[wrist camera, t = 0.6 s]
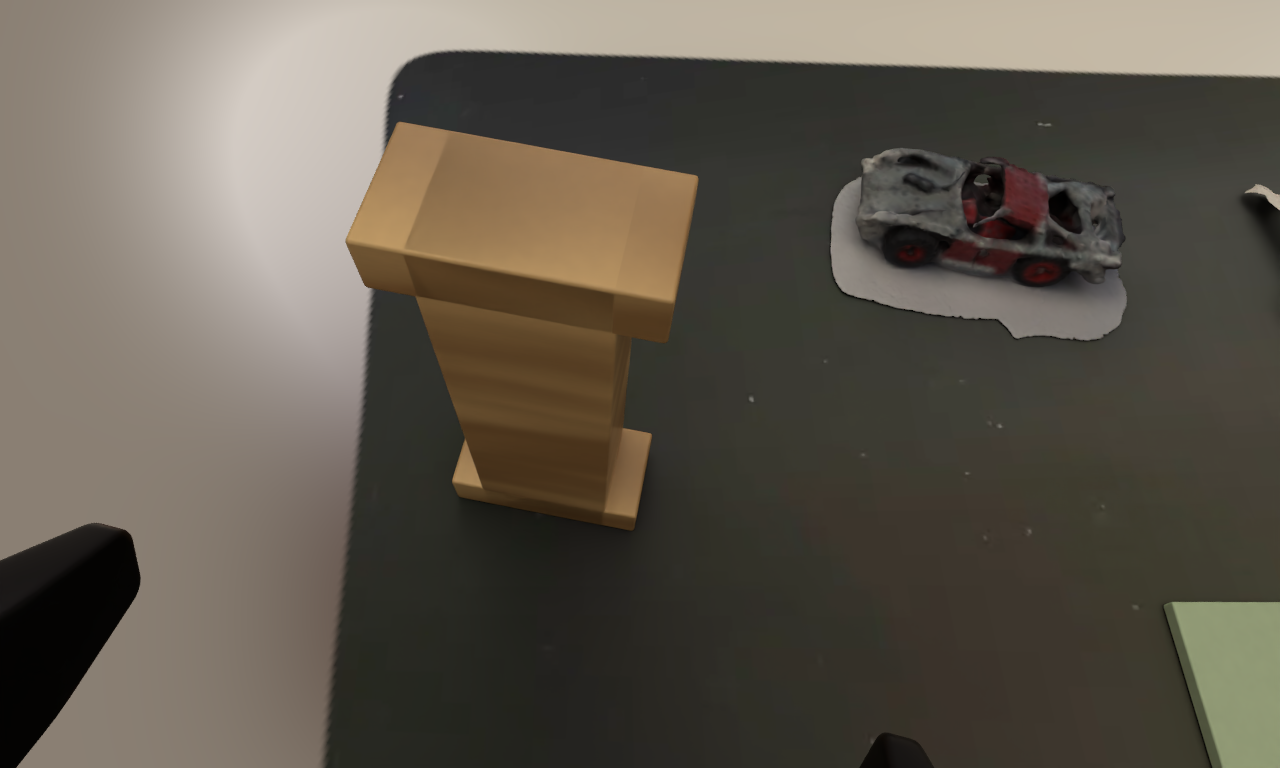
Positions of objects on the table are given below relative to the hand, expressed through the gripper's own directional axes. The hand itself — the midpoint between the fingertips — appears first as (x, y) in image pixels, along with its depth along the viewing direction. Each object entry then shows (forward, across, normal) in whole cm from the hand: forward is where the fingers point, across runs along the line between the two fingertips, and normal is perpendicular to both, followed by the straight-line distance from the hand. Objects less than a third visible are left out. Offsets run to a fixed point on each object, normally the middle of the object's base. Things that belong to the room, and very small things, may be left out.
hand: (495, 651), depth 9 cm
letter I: (+15, +2, +10) cm, 18 cm away
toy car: (+26, -12, +3) cm, 29 cm away
